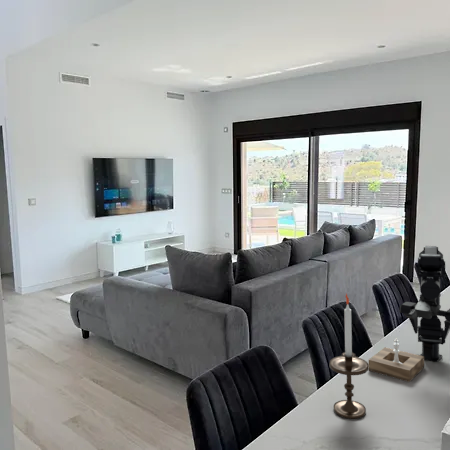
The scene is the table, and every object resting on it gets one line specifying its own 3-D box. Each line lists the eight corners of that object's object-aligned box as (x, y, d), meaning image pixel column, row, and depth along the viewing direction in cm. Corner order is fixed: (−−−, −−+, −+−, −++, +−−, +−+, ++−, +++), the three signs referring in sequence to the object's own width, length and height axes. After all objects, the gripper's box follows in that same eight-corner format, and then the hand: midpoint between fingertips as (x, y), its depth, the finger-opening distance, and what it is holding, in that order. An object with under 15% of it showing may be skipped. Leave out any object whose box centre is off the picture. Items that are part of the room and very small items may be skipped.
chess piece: (405, 369, 146) (405, 341, 145) (390, 368, 147) (390, 341, 146) (402, 363, 151) (402, 336, 150) (387, 362, 152) (387, 335, 151)
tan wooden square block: (384, 357, 159) (384, 347, 158) (424, 367, 149) (424, 356, 149) (368, 370, 149) (368, 359, 148) (409, 382, 139) (409, 370, 139)
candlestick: (327, 401, 129) (324, 289, 126) (362, 400, 129) (361, 288, 125) (335, 421, 118) (332, 299, 115) (374, 420, 118) (372, 298, 114)
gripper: (393, 292, 143) (393, 337, 144) (453, 301, 130) (453, 350, 131) (405, 285, 151) (405, 328, 152) (463, 293, 138) (463, 339, 139)
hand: (430, 336), depth 143 cm, fingers open, 9 cm apart
